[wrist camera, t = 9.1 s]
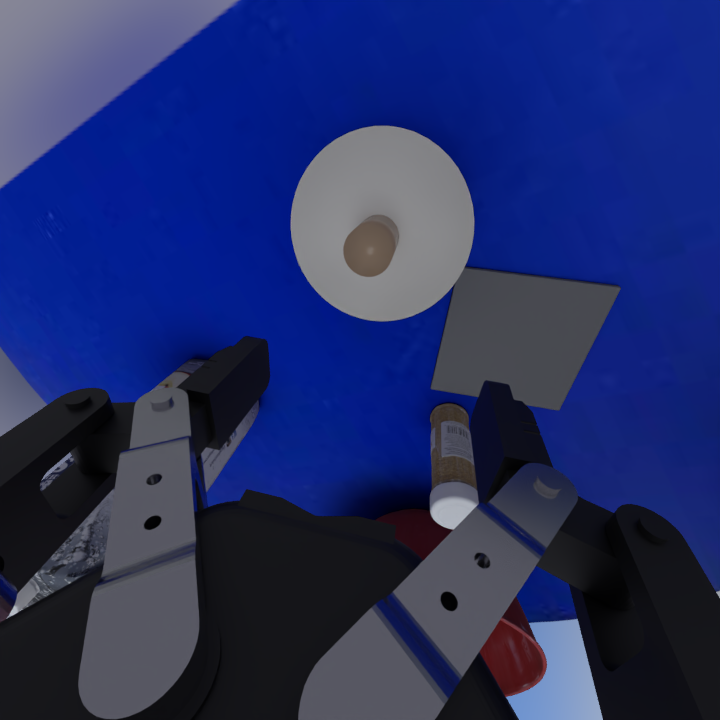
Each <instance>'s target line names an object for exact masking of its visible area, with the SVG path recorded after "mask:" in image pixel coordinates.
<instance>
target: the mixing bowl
mask: <svg viewBox="0 0 720 720" xmlns="http://www.w3.org/2000/svg"><path fill="white" fill-rule="evenodd" d="M375 521H380V522H384V523H388V524H392V525H396V531H395V539H397V540H399V541H401V542H402V543H404V544H405V545H407V546H408V547H409V548H411V549H412V550H413V551H414V552H415V553H416V554H418V555H419V556H420V557H421V559H422V560H424V559H425V558H426V557H427V556H428V555H429V554H430V553H431V552H432V551H433V550H434V549H435V548H436V547H437V546H438V545H439V544H440V543H441V542H442V541H443V540H444V539H445V538H446V537H447V536H448V535H449V534H450V533H451V532H452V531H453V529H448V528H445V527H443V526H441V525H439V524H438V523H437V522H436V521H435V520H434V519H433V518H432V516H431V513H430V511H429V510H423V509H405V510H400V511H396V512H391V513H388V514H386V515H383V516H381V517H379V518H377V519H376V520H375ZM479 652H480V654H481V655H482V657H483V659H484V661H485V662H486V664H487V666H488V667H489V669H490V671H491V673H492V674H493V676H494V678H495V679H496V681H497V683H498V685H499V686H500V688H501V690H502V692H503V693H504V695H505V697H507V696H512V695H515V694H518V693H521V692H524V691H526V690H528V689H530V688H531V687H533V686H535V685H536V684H537V683H538V682H540V680H541V679H542V678H543V676H544V674H545V672H546V668H547V661H546V657H545V654H544V652H543V650H542V648H541V647H540V645H538V643H537V642H536V639H535V637H534V635H533V632H532V630H531V628H530V625H529V623H528V621H527V618H526V616H525V614H524V612H523V610H522V608H521V606H520V604H519V602H518V600H517V598H516V596H515V598H514V600H513V601H512V603H511V604H510V606H509V607H508V609H507V610H506V612H505V613H504V615H503V616H502V618H501V619H500V621H499V622H498V624H497V625H496V627H495V628H494V630H493V631H492V633H491V634H490V636H489V637H488V639H487V641H486V642H485V644H484V645H483V647H482V648H481V650H480V651H479Z"/></svg>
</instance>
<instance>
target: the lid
mask: <svg viewBox="0 0 720 720" xmlns="http://www.w3.org/2000/svg"><path fill="white" fill-rule="evenodd" d="M291 235H292V242H293V247H294V251H295V254H296V257H297V260H298V263H299V265H300V267H301V269H302V271H303V273H304V275H305V277H306V278H307V280H308V281H309V283H310V284H311V285H312V287H313V288H314V289H315V290H316V291H317V292H318V293H319V294H320V295H321V296H322V297H323V298H324V299H325V300H326V301H327V302H329V303H330V304H331V305H332V306H334V307H336V308H337V309H339V310H341V311H343V312H345V313H347V314H349V315H351V316H355V317H358V318H361V319H366V320H371V321H393V320H399V319H404V318H407V317H410V316H413V315H416V314H418V313H420V312H422V311H424V310H426V309H427V308H429V307H431V306H432V305H434V304H435V303H436V302H438V301H439V300H440V299H441V298H442V297H443V296H444V295H445V294H446V293H447V292H448V291H449V290H450V289H451V288H452V286H453V285H454V284H455V283H456V281H457V280H458V278H459V276H460V275H461V273H462V271H463V269H464V267H465V265H466V262H467V260H468V257H469V254H470V251H471V247H472V242H473V236H474V212H473V205H472V200H471V196H470V192H469V190H468V187H467V184H466V182H465V179H464V178H463V176H462V174H461V172H460V170H459V169H458V167H457V166H456V164H455V163H454V162H453V160H452V159H451V158H450V157H449V156H448V155H447V154H446V153H445V152H444V151H443V150H442V149H441V148H440V147H439V146H438V145H436V144H435V143H434V142H432V141H431V140H429V139H428V138H426V137H424V136H422V135H420V134H418V133H416V132H413V131H410V130H407V129H404V128H400V127H393V126H372V127H366V128H361V129H358V130H355V131H352V132H349V133H347V134H345V135H343V136H341V137H339V138H337V139H336V140H334V141H333V142H331V143H330V144H329V145H327V146H326V147H325V148H324V149H323V150H322V151H321V152H320V153H319V154H318V155H317V156H316V157H315V158H314V159H313V161H312V162H311V163H310V164H309V166H308V167H307V169H306V171H305V172H304V174H303V176H302V178H301V180H300V182H299V185H298V187H297V189H296V193H295V196H294V200H293V205H292V212H291Z"/></svg>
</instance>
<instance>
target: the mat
mask: <svg viewBox="0 0 720 720" xmlns="http://www.w3.org/2000/svg"><path fill="white" fill-rule="evenodd" d="M620 289H621V287H619V286H617V285H609V284H601V283H593V282H585V281H576V280H568V279H560V278H552V277H544V276H536V275H528V274H520V273H512V272H504V271H496V270H488V269H480V268H472V267H464V269H463V271H462V273H461V275H460V276H459V278H458V280H457V281H456V283H455V284H454V288H453V292H452V296H451V301H450V305H449V309H448V314H447V318H446V322H445V327H444V331H443V335H442V340H441V344H440V348H439V353H438V357H437V361H436V366H435V370H434V374H433V378H432V383H431V389H434V390H440V391H446V392H452V393H458V394H464V395H470V396H476V397H479V394H480V391H481V388H482V385H483V383H484V382H485V380H489V381H494V382H500V383H505V384H509V386H510V389H511V392H512V395H513V398H514V400H518V401H523V403H524V404H525V405H529V406H535V407H541V408H547V409H553V410H560V408H561V406H562V404H563V402H564V400H565V398H566V396H567V394H568V392H569V390H570V388H571V386H572V384H573V382H574V380H575V378H576V376H577V374H578V372H579V370H580V368H581V366H582V364H583V362H584V360H585V358H586V356H587V354H588V352H589V350H590V348H591V346H592V344H593V342H594V340H595V338H596V336H597V334H598V332H599V331H600V329H601V327H602V325H603V323H604V321H605V319H606V317H607V315H608V313H609V311H610V309H611V307H612V305H613V303H614V301H615V299H616V297H617V295H618V293H619V291H620Z"/></svg>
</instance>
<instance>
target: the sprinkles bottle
mask: <svg viewBox="0 0 720 720" xmlns="http://www.w3.org/2000/svg"><path fill="white" fill-rule="evenodd" d="M430 421H431V462H432V490H431V494H430V513H431V516H432V518H433V519H434V520H435V521H436V522H437V523H438V524H439V525H441V526H443V527H445V528H448V529H453V530H454V529H455V528H456V527H457V526H458V525H459V524H460V523H461V522H462V521H463V519H464V518H465V517H466V516H467V515H468V514H469V513H470V512H471V511H472V510H473V509H474V508H475V507H476V506H477V505H478V504H479V501H478V493H477V484H476V476H475V467H474V459H473V450H472V442H471V434H470V431H469V424H468V421H469V418H468V414H467V412H466V411H465V409H464V408H462V407H461V406H459V405H456V404H451V403H446V404H442V405H439V406H437V407H436V408H435V409H434V410H433V411H432V413H431V415H430Z"/></svg>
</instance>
